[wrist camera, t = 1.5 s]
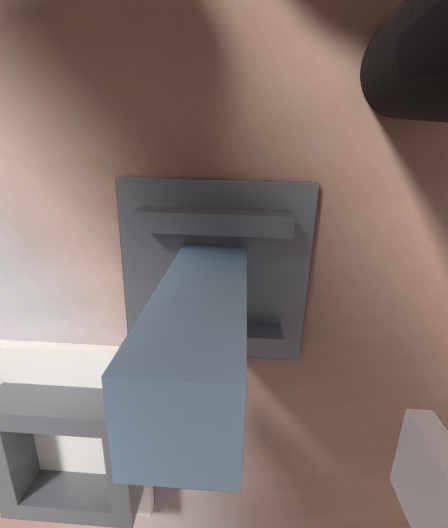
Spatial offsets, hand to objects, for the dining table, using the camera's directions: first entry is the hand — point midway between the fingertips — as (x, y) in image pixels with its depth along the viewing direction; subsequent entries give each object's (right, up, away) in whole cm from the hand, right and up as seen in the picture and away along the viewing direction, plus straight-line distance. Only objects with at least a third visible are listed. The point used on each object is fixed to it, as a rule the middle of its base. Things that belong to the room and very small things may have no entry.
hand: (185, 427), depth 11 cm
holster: (+1, +5, +12) cm, 13 cm away
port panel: (-16, -8, +17) cm, 25 cm away
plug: (+1, +4, +11) cm, 12 cm away
